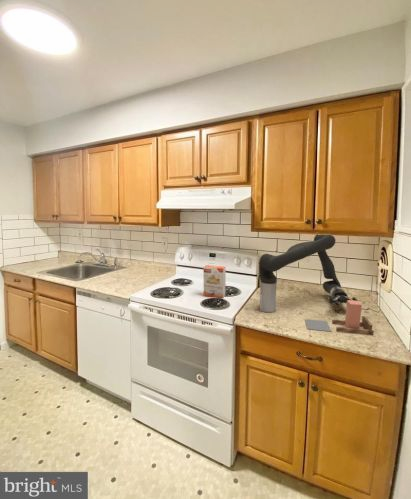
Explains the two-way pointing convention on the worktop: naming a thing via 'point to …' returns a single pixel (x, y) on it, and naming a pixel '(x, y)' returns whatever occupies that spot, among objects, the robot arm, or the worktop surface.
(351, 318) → the red block
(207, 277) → the cracker box
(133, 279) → the worktop surface
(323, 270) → the robot arm
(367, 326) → the frame
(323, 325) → the mat
